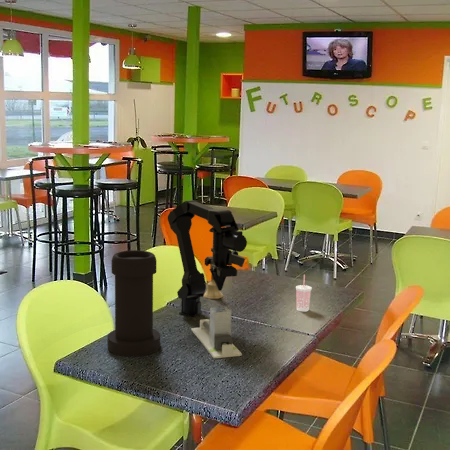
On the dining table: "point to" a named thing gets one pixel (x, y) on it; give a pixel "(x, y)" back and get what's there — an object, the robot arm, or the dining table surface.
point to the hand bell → (212, 289)
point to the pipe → (133, 304)
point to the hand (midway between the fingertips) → (219, 290)
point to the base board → (204, 338)
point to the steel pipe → (209, 331)
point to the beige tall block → (219, 323)
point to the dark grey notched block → (222, 339)
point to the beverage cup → (303, 296)
